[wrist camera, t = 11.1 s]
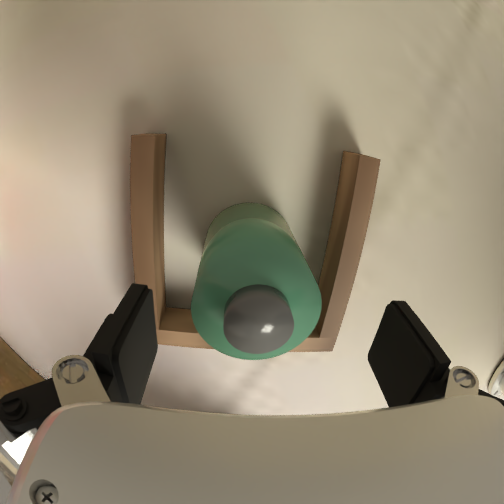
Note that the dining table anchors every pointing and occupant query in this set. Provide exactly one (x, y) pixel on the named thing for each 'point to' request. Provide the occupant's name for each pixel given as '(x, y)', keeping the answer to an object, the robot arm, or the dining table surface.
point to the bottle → (253, 286)
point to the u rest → (335, 261)
